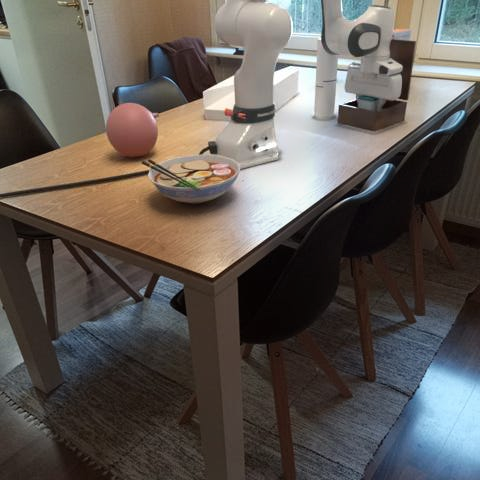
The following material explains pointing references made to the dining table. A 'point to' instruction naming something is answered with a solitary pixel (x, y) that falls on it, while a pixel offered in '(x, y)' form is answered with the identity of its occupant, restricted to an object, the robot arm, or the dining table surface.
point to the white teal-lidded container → (368, 102)
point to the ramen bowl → (194, 177)
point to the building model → (225, 94)
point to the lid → (403, 62)
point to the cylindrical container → (325, 82)
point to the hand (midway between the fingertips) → (369, 110)
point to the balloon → (132, 129)
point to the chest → (372, 115)
